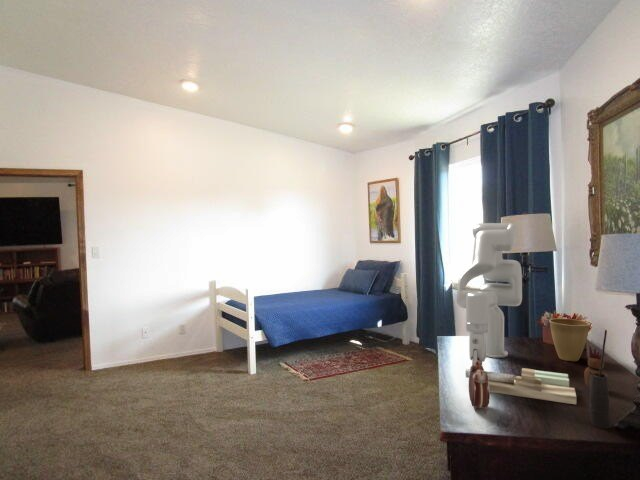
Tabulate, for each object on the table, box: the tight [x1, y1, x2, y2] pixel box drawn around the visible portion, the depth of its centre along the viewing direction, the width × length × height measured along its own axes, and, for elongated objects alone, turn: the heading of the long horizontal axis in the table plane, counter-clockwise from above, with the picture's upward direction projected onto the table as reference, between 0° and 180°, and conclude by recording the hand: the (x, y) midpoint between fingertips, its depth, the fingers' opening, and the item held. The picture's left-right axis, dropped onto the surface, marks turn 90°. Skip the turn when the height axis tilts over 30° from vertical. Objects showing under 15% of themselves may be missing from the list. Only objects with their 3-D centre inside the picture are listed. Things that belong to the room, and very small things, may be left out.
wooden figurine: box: [583, 345, 609, 390], centre depth 151 cm, size 7×6×15 cm
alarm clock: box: [468, 360, 491, 413], centre depth 137 cm, size 11×5×15 cm, turn 170°
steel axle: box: [465, 368, 516, 384], centre depth 154 cm, size 16×3×3 cm, turn 64°
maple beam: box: [488, 367, 577, 405], centre depth 149 cm, size 8×28×7 cm, turn 64°
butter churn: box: [588, 329, 612, 430], centre depth 125 cm, size 9×10×28 cm
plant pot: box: [549, 318, 591, 362], centre depth 186 cm, size 15×15×16 cm
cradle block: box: [534, 369, 570, 387], centre depth 153 cm, size 7×11×4 cm, turn 63°
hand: (477, 377), depth 156 cm, fingers closed on steel axle, 3 cm apart
